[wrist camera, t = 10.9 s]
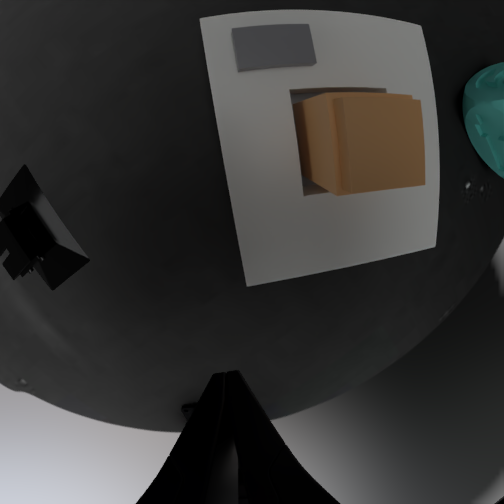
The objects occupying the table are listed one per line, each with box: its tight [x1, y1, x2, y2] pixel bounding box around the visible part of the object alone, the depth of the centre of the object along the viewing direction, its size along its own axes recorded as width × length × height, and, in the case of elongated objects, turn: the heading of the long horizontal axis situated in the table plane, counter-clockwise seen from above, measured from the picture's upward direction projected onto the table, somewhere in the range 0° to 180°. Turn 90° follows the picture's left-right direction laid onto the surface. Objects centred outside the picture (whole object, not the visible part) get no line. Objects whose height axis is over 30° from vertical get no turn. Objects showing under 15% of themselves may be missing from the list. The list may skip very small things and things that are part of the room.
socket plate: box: [200, 10, 440, 287], centre depth 15 cm, size 16×14×4 cm
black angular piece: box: [0, 164, 90, 290], centre depth 16 cm, size 12×7×5 cm, turn 30°
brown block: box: [292, 92, 425, 196], centre depth 14 cm, size 5×5×7 cm
